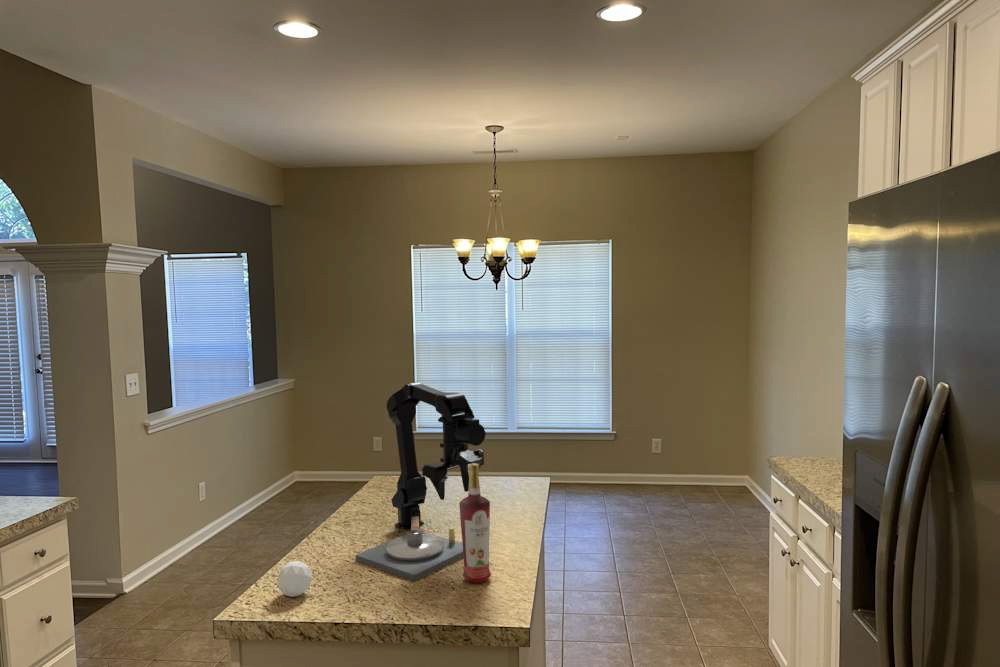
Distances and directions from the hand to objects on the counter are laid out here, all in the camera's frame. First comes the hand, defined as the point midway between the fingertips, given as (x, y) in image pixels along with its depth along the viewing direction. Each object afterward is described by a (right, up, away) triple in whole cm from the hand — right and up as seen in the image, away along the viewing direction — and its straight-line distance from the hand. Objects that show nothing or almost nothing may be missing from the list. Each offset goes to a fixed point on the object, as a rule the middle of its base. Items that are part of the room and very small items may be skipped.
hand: (454, 495), depth 178 cm
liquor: (+7, -15, -23) cm, 28 cm away
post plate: (-10, -14, -7) cm, 19 cm away
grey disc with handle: (-10, -12, -4) cm, 17 cm away
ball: (-35, -16, -28) cm, 48 cm away
